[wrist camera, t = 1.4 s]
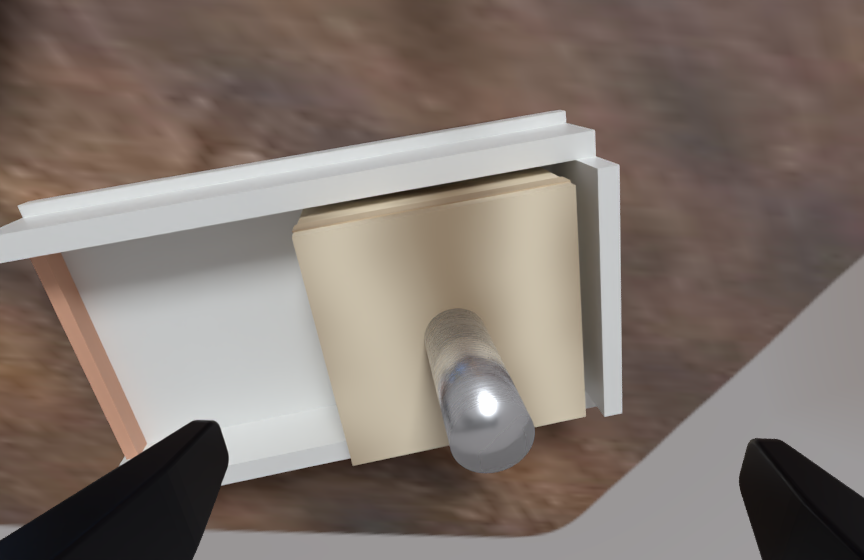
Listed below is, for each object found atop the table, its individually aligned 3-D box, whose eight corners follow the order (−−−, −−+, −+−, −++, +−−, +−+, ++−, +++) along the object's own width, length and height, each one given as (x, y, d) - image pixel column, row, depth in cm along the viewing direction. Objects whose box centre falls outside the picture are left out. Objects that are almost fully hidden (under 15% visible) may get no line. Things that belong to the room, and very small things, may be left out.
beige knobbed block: (352, 397, 26) (349, 603, 16) (303, 202, 22) (258, 310, 12) (547, 357, 27) (663, 531, 17) (533, 161, 23) (671, 232, 13)
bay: (147, 459, 27) (96, 554, 22) (28, 201, 22) (-78, 243, 16) (572, 371, 29) (622, 440, 23) (558, 109, 23) (618, 121, 18)
